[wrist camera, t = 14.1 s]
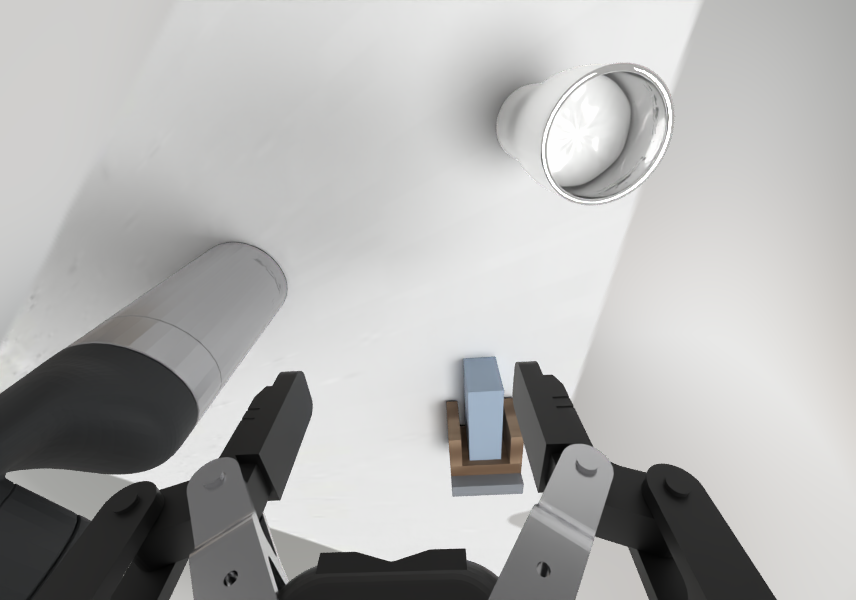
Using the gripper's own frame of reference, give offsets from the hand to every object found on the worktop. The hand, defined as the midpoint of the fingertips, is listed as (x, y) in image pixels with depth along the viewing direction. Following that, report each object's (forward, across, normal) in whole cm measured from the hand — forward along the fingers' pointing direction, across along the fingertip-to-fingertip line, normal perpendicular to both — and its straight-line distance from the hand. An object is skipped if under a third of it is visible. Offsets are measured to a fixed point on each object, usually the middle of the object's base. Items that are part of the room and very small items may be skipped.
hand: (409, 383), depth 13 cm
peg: (+25, -6, +25) cm, 36 cm away
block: (+24, -6, +30) cm, 39 cm away
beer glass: (+24, -10, -7) cm, 27 cm away
